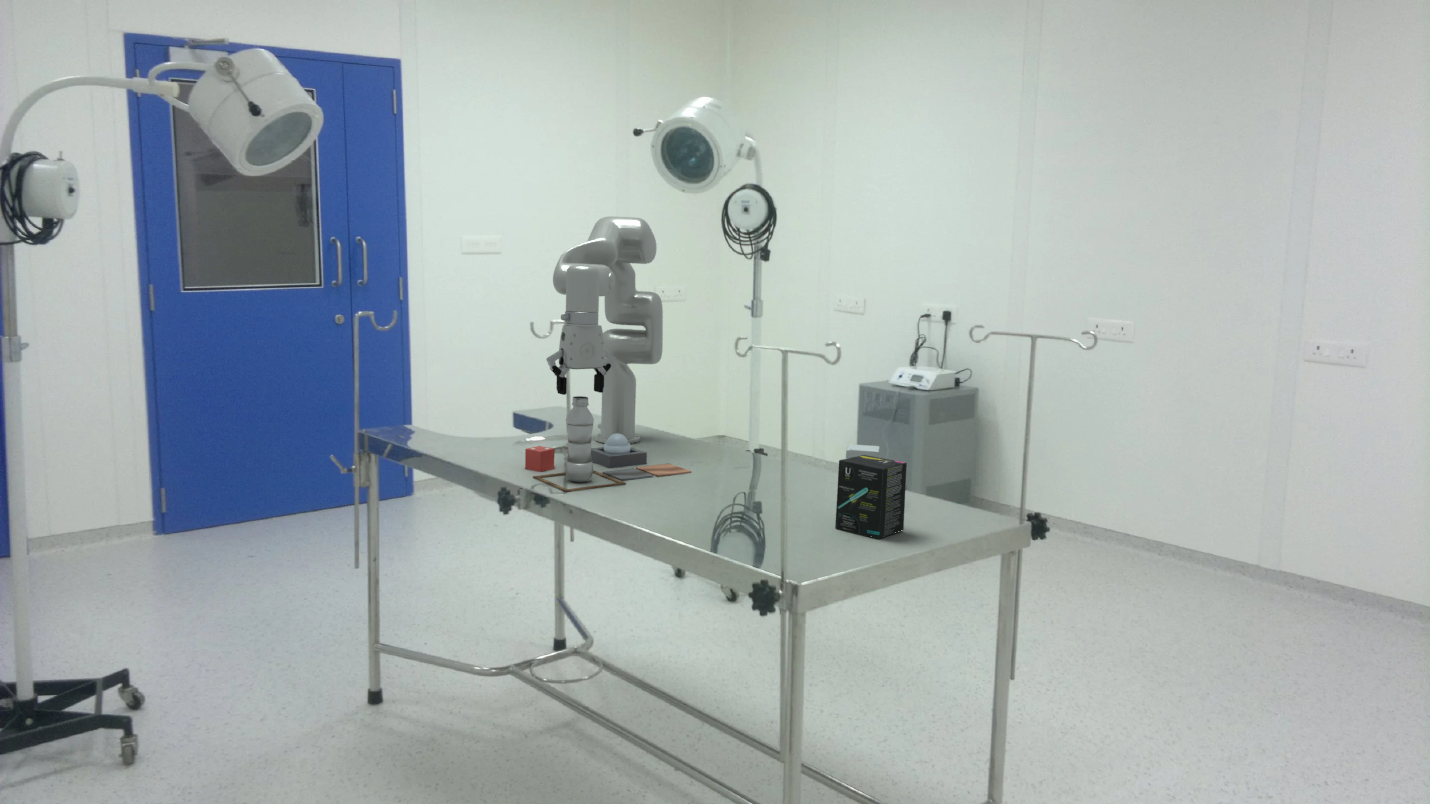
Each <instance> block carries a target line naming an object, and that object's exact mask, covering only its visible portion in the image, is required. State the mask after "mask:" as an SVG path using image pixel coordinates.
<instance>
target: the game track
mask: <svg viewBox="0 0 1430 804" xmlns="http://www.w3.org/2000/svg"><path fill="white" fill-rule="evenodd" d="M691 473H692V470H689V469H686V468H684V467H681V466H678V465H676V464H672V463H669V462H668V463H661V464H654V465H653V464H651V465H643V466H636V467H635V468H634V467H631V468H623V469H622V468H621V469H615V470H607V471H602V472H599V471H597V470H594V469H593V474H594V475H596V476H599V477H601V478H604V479H607V480H609V481H611V482H613V483H606V484H604V483H603V484H598V485H597V484H596V485H590V486H582V487H581V486H580V487H573V488H565V487H563V486H561V485H559V484H556V483H554V482H552V481H551V480H550V481H549V480H548V479H545V478H553V477H562V476H566V472H565V471H564V472H559V473H549V474H541V475H533V476H532V479H535V480H536V481H539V482H540V483H543V484H546V485H548V486H550V487H553V488H555V489H557V490H559V491H562V492H564V493H570V492H579V491H586V490H594V489H601V488H609V487H614V486H615V487H616V486H617V487H618V486H625V485H627V482H625V481H633V480H638V479H639V480H640V479H648V478H654V477H657V478H659V477H667V476H668V477H670V476H675V475H676V476H677V475H684V474H691Z"/></svg>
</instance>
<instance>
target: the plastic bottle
mask: <svg viewBox="0 0 1430 804" xmlns="http://www.w3.org/2000/svg"><path fill="white" fill-rule="evenodd" d="M571 405H572V408H571V409H570V410H569V412H568V414H567V415H566V418H565V422H566V431H567V441H568V443H567V447H568V448H567V457H566V463H565V470H564V473H565V472H566V475H565V477H566V478H567V480H569V481H572V482H577V483H582V482H588V481H590V480H591V479H592V478H593V470H594V465H593V462H592V456H591V448H592V435H593V431H594V430H593V429H594V421H595V420H594V416H593V414H592V412H591V411H590V409H589V408H588V407H589V405H590V404H589V397H588V396H585V395H584V396H582V395H581V396H580V395H578V396H577V395H576V396H572V403H571Z"/></svg>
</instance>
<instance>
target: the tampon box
mask: <svg viewBox="0 0 1430 804" xmlns="http://www.w3.org/2000/svg"><path fill="white" fill-rule="evenodd" d="M906 481H907V462H905V461H898V460H894V459H888V458H883V457H879V458H878V457H873V456H867V455H862V456H857V457H851V458H848V459H846V458H843V459H839V461H838V473H837V489H836V490H837V493H836V494H837V495H836V505H835V506H836V509H835V511H836V512H835V526H834V529H835V530H840V531H844V532H847V533H851V532H852V534H855V535H859V534H860V536H863V535H865V536H864V537H868V536H872V537H875V538H874V539H876V538H880V539H882V537H883V536H886V537H888V536H887V535H889V536H892V535H895V534H896V533H895V532H898V531H901V530H903V531H904V530H905V529H904V528H905V527H904V523H905V508H906V507H905V503H906ZM901 532H902V531H901ZM894 533H895V534H894ZM898 533H899V532H898ZM891 534H892V535H891ZM872 537H871V538H872ZM883 538H884V537H883Z"/></svg>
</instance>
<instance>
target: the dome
mask: <svg viewBox="0 0 1430 804" xmlns="http://www.w3.org/2000/svg"><path fill="white" fill-rule="evenodd" d="M631 444H632V443H631ZM631 444H629V443H628V440H627V439H626V437H625V436H624V435H622V434H613V435H611V436H610V437H609V438H608V440H607V443H603V447H604V452H606V453H609V454H612V455H614V454H623V453H630V448H631V447H632V446H631Z"/></svg>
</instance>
